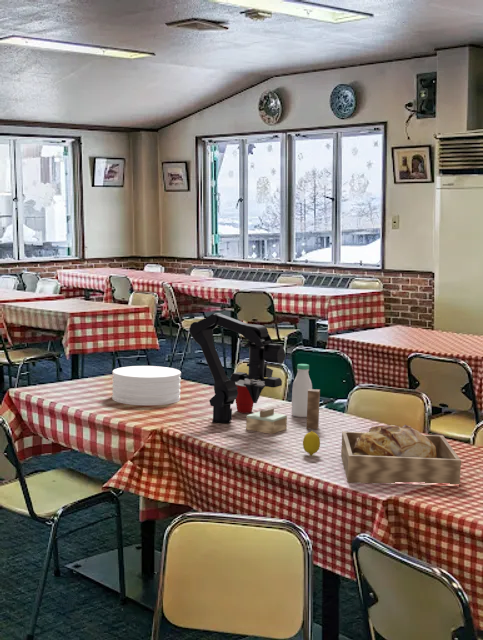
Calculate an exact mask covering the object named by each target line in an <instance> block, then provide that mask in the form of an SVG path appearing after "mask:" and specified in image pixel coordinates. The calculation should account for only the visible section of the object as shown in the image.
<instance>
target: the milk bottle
mask: <svg viewBox="0 0 483 640" xmlns="http://www.w3.org/2000/svg"><path fill="white" fill-rule="evenodd" d="M296 369H297V373H296V376H295V378H294V380H293V383H292V395H291V416H293V417H299V418H307V401H308V390H309V389H313V383H312V380H311V378H310V375H309V374H310V373H309V371H310V364H307V363H298V364H297V366H296Z"/></svg>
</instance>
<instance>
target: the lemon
mask: <svg viewBox="0 0 483 640" xmlns="http://www.w3.org/2000/svg"><path fill="white" fill-rule="evenodd" d="M320 446H321V440H320V436H319V435H318V434H317V433H316V432H315V431H314V430H313V431H312V430H311V431H309V432H307V433H306V434H305V435H304V437H303V441H302V447H303V449H304V451H305V453H307V454H309V456H313V455H314V454H316V453H317V452H318V451H319V449H320V448H321V447H320Z"/></svg>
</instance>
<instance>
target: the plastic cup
mask: <svg viewBox="0 0 483 640" xmlns="http://www.w3.org/2000/svg"><path fill="white" fill-rule="evenodd" d="M256 383H257V382H256ZM235 384H236V386H237V388H238V389H237V391H238V395H237V398H236V399H235V404H236V405H235V406H236V410H237V412H238V413H242V414H247V413H248V414H249V413H250V414H251V413H252V411H253V408H254V404H255V403H253V400H252V398H251V396H250V393H249V391H248V389H247V388H246V386H245V385H244V384H245V380H239V381H238V382H235Z"/></svg>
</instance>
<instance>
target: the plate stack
mask: <svg viewBox="0 0 483 640" xmlns="http://www.w3.org/2000/svg"><path fill="white" fill-rule="evenodd" d="M112 375H113V376H112V385H111V387H112V396H111V399H112V401H114V402H117V403H118V404H124V405H125V404H126V405H132V406H163V405H171V404H174V403H175V404H176V403H177V402H179V401H181V380H182V378H181V376H182V372H181V370H179V369H177V368H173V367H166V366H158V365H157V366H156V365H131V366H121V367H118V368H114V369H113V370H112Z"/></svg>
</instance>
